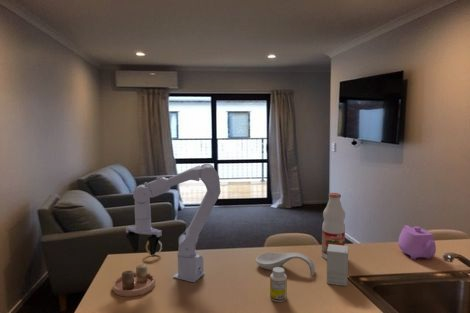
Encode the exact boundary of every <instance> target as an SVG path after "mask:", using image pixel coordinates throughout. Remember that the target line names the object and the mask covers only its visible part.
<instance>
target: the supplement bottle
mask: <svg viewBox="0 0 470 313" xmlns="http://www.w3.org/2000/svg"><path fill="white" fill-rule="evenodd" d="M269 276H270V277H269V278H270V279H269V280H270V281H269V283H270V284H269V292H270V293H269V295H270V296H269V297H270V299H271V300H272V301H274V302H277V303H281V302H284V301H286V300H287V298H288V296H287V295H288V293H287V292H288V289H287V288H288V285H287V284H288V283H287V282H288V276H287V274H286V273H285V268H284V267H282V266H281V267H275V268H273V270H272V273H271V274H270V275H269Z"/></svg>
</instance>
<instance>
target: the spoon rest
mask: <svg viewBox="0 0 470 313" xmlns="http://www.w3.org/2000/svg"><path fill="white" fill-rule="evenodd" d="M292 259H299V260H302V261H304V262H305V263H306V264H307V266H308V267H309V273H310V276H314V275H315V272H316V268H315V264H314V262H313V260H312V259H311V258H310V257H309V256H307V255H305V254H303V253H301V252H265V253H261V254H259V255H257V256H256V258H255V262H256V264H257V265H258V266H259V267H260V268H262V269H265V270H269V271H273V268H275V267H281V268H282V266H283V265H284V264H285V263H286V264H287V262H289V261H290V260H292Z"/></svg>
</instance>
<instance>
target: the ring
mask: <svg viewBox="0 0 470 313" xmlns="http://www.w3.org/2000/svg"><path fill="white" fill-rule="evenodd" d="M158 244H159V248H160V249H159V250H158V251H156V252H155V254H153V255H151V254H150V250H149V249H148V246H150V245H149V241H148V240H147V242H146V244H145V251H146V253H147V254H148V255H149V256H153V257H154V256H156V255H159V254H160V253H161V252H162V250H163V244H162V242H161V241H160V240H159V241H158Z"/></svg>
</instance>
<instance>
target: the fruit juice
mask: <svg viewBox="0 0 470 313" xmlns="http://www.w3.org/2000/svg"><path fill="white" fill-rule="evenodd" d="M328 198H329V199H328V201H327V204H326V207H325V208H324V210H323V212H322V217H323V222H322V227H321V231H322V232H321V256H322V258H323V259H325V260H327V249H328V245H329V244H333V245H342V246H345V240H346V239H345V238H346V237H345V236H346V225H345V224H346V223H345V218H346V212H345V210H344V208H343V206H342V202H341V194H340V193H338V192H329V193H328Z"/></svg>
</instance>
